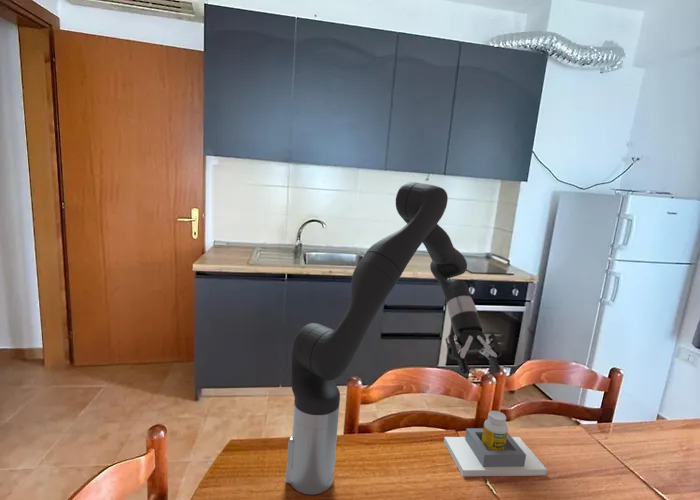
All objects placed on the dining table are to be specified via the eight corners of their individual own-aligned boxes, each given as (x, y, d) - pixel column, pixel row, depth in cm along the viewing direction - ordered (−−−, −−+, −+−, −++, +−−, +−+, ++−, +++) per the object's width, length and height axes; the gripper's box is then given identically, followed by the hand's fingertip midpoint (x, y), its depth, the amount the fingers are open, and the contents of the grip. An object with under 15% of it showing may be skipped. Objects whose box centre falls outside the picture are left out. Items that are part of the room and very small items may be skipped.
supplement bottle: (493, 443, 100) (498, 407, 98) (509, 457, 95) (514, 419, 93) (475, 446, 98) (480, 410, 96) (490, 461, 93) (496, 422, 91)
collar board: (462, 476, 89) (465, 458, 89) (443, 442, 101) (445, 426, 100) (545, 475, 92) (549, 457, 91) (518, 442, 104) (520, 426, 103)
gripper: (446, 309, 107) (463, 370, 97) (493, 309, 110) (514, 367, 101) (435, 322, 112) (450, 380, 103) (479, 321, 116) (498, 377, 107)
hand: (481, 373), depth 102 cm, fingers open, 8 cm apart
